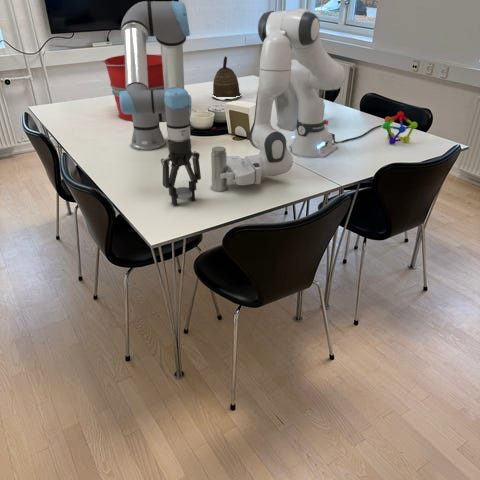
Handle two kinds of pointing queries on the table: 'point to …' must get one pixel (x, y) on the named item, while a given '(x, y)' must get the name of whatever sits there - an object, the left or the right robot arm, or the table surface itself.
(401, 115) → the educational toy
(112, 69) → the bucket
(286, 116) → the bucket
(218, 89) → the bell
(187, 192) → the lid
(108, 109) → the table surface
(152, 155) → the table surface
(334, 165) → the table surface
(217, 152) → the jar
